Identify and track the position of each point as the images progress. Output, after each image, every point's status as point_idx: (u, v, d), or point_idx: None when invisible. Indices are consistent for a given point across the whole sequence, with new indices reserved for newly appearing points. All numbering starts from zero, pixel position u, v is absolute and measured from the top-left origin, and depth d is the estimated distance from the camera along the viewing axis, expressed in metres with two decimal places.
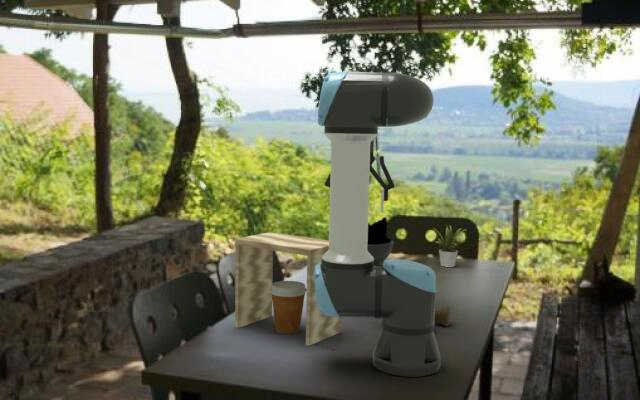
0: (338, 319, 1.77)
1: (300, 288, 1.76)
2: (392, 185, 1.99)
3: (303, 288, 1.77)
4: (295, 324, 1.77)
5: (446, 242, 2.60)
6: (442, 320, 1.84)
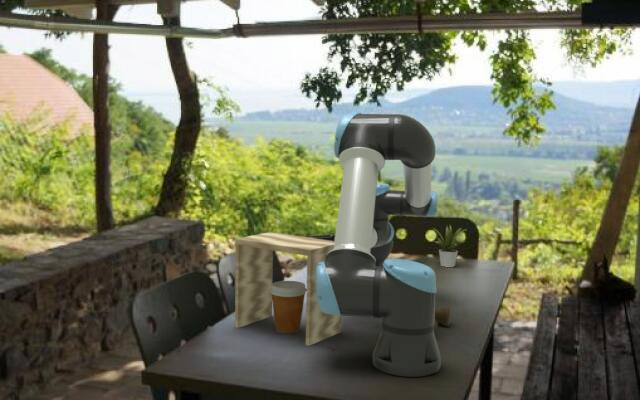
0: (338, 319, 1.77)
1: (300, 288, 1.76)
2: None
3: (303, 288, 1.77)
4: (295, 324, 1.77)
5: (446, 242, 2.60)
6: (443, 320, 1.84)
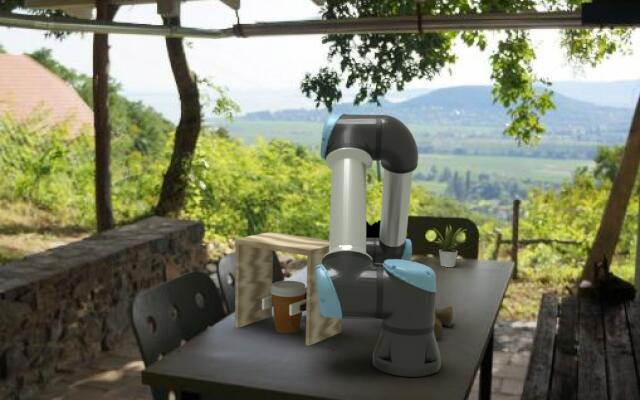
0: (338, 319, 1.77)
1: (300, 288, 1.76)
2: None
3: (303, 288, 1.77)
4: (295, 324, 1.77)
5: (446, 242, 2.60)
6: (446, 321, 1.84)
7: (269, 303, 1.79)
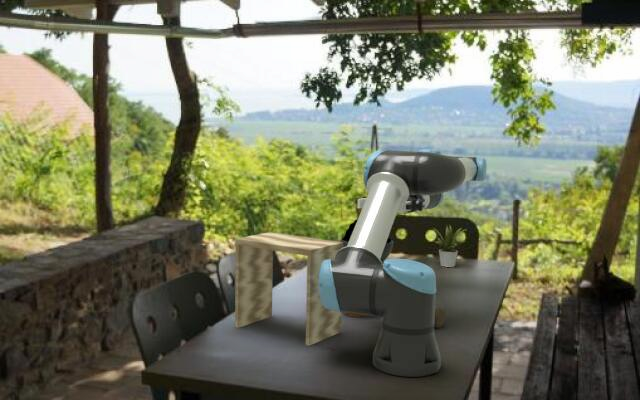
0: (338, 319, 1.77)
1: None
2: (421, 202, 2.01)
3: None
4: None
5: (446, 242, 2.60)
6: None
7: (363, 204, 2.06)
